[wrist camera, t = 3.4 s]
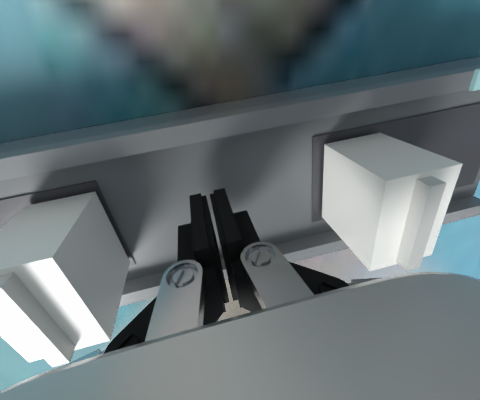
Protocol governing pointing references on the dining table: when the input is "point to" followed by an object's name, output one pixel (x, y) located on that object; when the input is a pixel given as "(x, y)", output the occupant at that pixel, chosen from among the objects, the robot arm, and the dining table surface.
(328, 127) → the switch board
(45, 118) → the dining table surface
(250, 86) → the dining table surface
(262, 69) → the dining table surface
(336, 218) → the tab
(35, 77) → the dining table surface
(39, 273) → the tab
